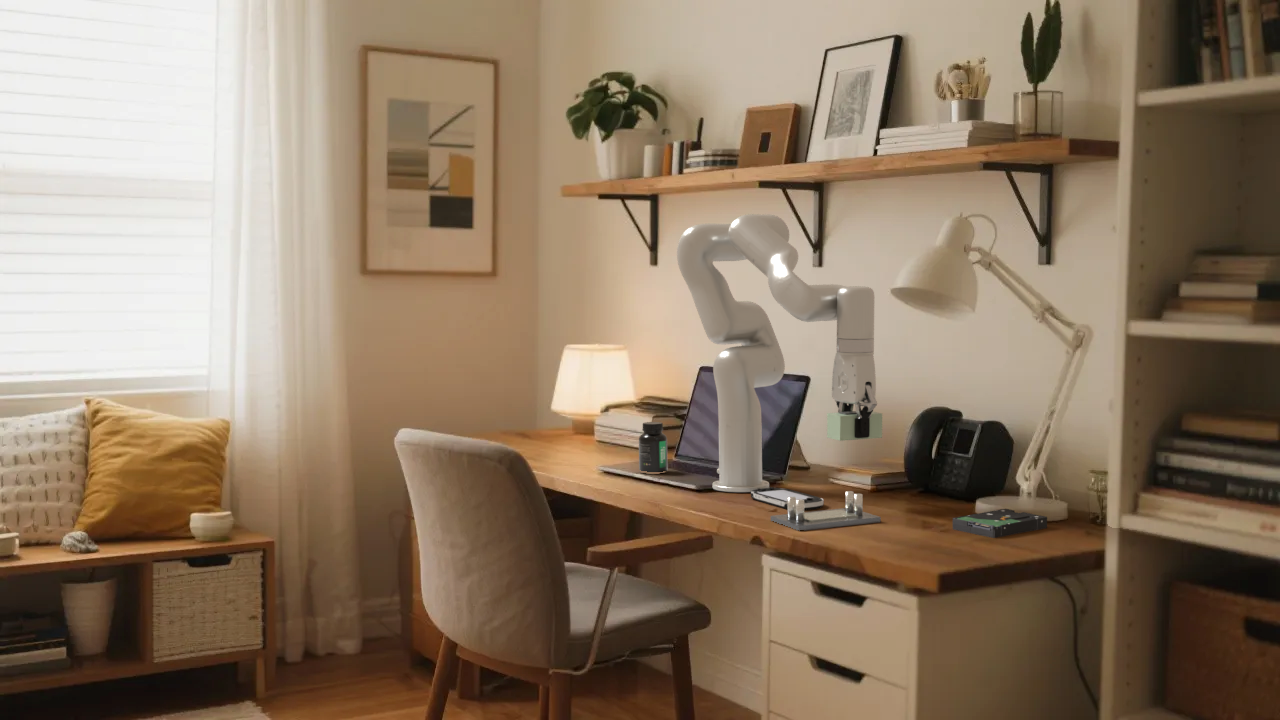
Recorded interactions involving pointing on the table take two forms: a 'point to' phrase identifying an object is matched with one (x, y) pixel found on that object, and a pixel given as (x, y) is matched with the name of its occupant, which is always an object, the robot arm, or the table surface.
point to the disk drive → (999, 523)
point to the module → (851, 425)
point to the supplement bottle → (653, 448)
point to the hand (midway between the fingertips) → (854, 434)
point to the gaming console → (785, 497)
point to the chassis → (826, 514)
